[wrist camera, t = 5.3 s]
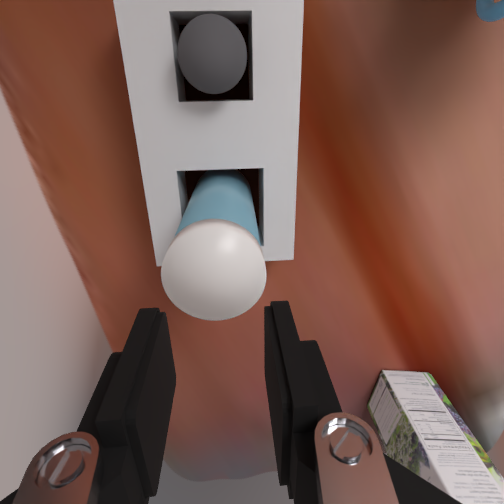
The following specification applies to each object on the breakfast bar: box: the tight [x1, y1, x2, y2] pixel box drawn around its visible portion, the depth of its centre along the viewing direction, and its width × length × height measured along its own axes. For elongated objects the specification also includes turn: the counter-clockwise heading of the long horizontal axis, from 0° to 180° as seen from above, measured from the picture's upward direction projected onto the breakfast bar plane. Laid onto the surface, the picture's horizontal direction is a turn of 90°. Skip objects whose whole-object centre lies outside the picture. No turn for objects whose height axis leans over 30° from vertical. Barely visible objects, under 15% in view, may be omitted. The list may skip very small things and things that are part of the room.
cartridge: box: [161, 169, 266, 320], centre depth 20 cm, size 4×4×13 cm
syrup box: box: [367, 370, 504, 504], centre depth 31 cm, size 6×6×14 cm
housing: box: [113, 0, 304, 266], centre depth 23 cm, size 16×10×4 cm, turn 1°
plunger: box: [177, 14, 247, 94], centre depth 20 cm, size 4×4×5 cm
